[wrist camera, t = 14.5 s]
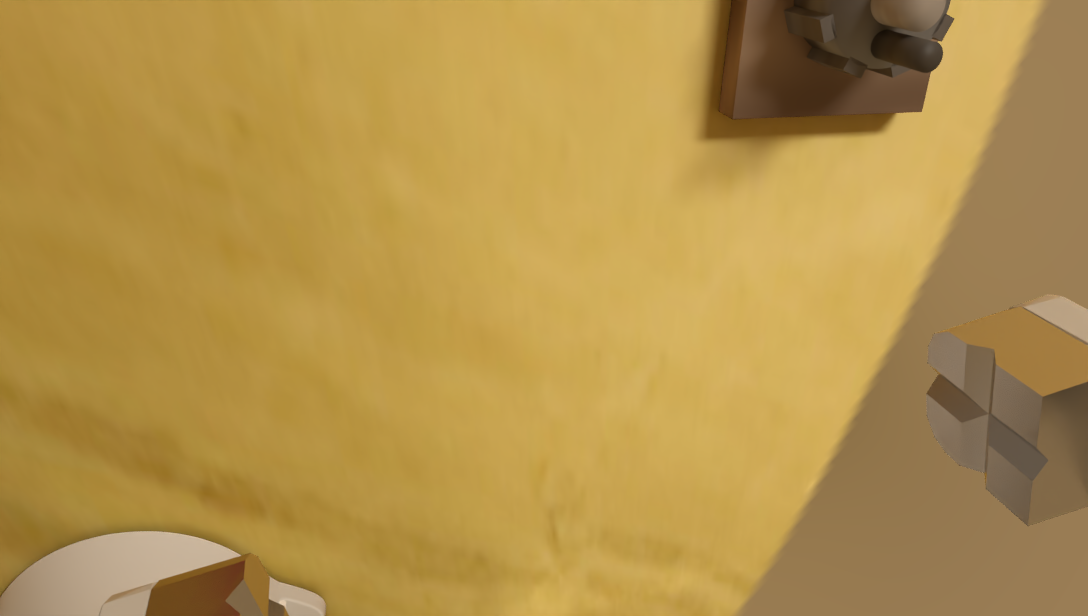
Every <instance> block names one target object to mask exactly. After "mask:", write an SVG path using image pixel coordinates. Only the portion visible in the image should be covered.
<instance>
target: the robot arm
mask: <svg viewBox="0 0 1088 616" xmlns="http://www.w3.org/2000/svg"><path fill="white" fill-rule="evenodd" d="M928 364H929V365H930V366H931V367H932V368H933V369H934V370H935V371H936V372H937V373H938V376H937V377H936V379H935V381H934V382H933V384H932V386H931V387H930V389H929V390H928V392H927V418H928V420H929V423H930V426H931V428H932V431H933V434H934V437H935V438H936V440H937V441H938V443H939V444H940V445H941V447H942V448H943V450H944V451H945V452H946V453H947V454H948V455H949V456H950V457H951V458H952V459H953V460H954V461H955V462H956V463H957V464H959V465H960V466H963V467H967V468H970V469H973V470H976V471H980V472H983V473H984V475H985V485H986V489H987V490H988V491H989V492H990V493H991V494H992V495H993V496H994V497H995V498H997V499H998V500H999V501H1000V502H1001V503H1003V505H1005V506H1006V507H1007V508H1008V509H1009V510H1010V511H1011V512H1012V513H1014V514H1015V515H1016V516H1017V517H1018V518H1019V519H1020V520H1021V521H1023V522H1024V523H1025V524H1026V525H1027V526H1030V525H1033V524H1036V523H1039V522H1042V521H1045V520H1048V519H1051V518H1054V517H1057V516H1060V515H1063V514H1066V513H1069V512H1073V511H1076V510H1078V509H1082V508H1085V507H1088V310H1087V309H1085V308H1083V307H1081V306H1080V305H1078V304H1076V303H1074V302H1072V301H1070V300H1069V299H1067V298H1065V297H1063V296H1057V295H1050V294H1047V295H1044V296H1041V297H1038V298H1035V299H1032V300H1030V301H1027V302H1024V303H1021V304H1018V305H1016V306H1012V307H1010V308H1009V309H1008V310H1004V311H1001V312H998V313H995V314H992V315H989V316H986V317H983V318H980V319H977V320H974V321H970V322H967V323H965V324H962V325H958V326H956V327H952V328H949V329H946V330H943V331H940V332H937V333H934V335H933V337H932V339H931V341H930V343H929V345H928ZM325 614H326V604H325V602H324V600H323V599H322V598H321V597H320V596H319V595H317V594H315V593H313V592H311V591H308V590H305V589H302V588H299V587H295V586H292V585H288V584H285V583H281V582H278V581H276V580H275V579H273V578H271V577H270V576H269V575H268V573H267V572H266V570H265V568H264V566H263V564H262V563H261V561H260V559H259V557H258V556H256V555H254V554H251V553H249V554H245V555H242V556H241V555H239V554H238V553H236V552H234V551H232V550H230V549H228V548H226V547H224V546H221V545H219V544H216V543H214V542H211V541H208V540H205V539H201V538H197V537H193V536H188V535H183V534H177V533H169V532H155V531H137V532H123V533H115V534H109V535H103V536H99V537H94V538H90V539H87V540H83V541H80V542H77V543H74V544H71V545H69V546H66V547H64V548H61V549H59V550H57V551H55V552H53V553H51V554H49V555H47V556H45V557H44V558H42V559H40V560H39V561H37V562H36V563H34V564H33V565H31V566H30V567H29V568H27V569H26V570H25V571H23V572H22V573H21V574H20V575H19V576H18V577H17V578H16V579H15V580H14V581H13V582H12V583H11V584H10V585H9V586H8V588H7V589H6V590H5V591H4V593H3V594H2V596H1V597H0V616H325Z"/></svg>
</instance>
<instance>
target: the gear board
mask: <svg viewBox="0 0 1088 616" xmlns="http://www.w3.org/2000/svg"><path fill="white" fill-rule="evenodd" d="M950 1H951V0H732V3H731V12H730V21H729V29H728V38H727V46H726V55H725V63H724V72H723V80H722V89H721V98H720V106H719V112H721V113H723V114H724V115H726V116H728V117H730V118H732V119H748V118H774V117H800V116H826V115H852V114H878V113H904V112H922V109H923V104H924V100H925V95H926V91H927V86H928V82H929V77H930V73H931V71H933V70H934V69H936V68H937V66H938V65H939V64H940V62H941V60H942V56H943V50H942V47H941V45H940V44H939V43H938V41H942V40H943V38H944V36H945V35H946V33H947V31H948V29H949V27H950V26H951V24H952V22H953V20H954V18H952V17H950V16H949V15H947V14H946V13H947V11H948V8H949V4H950Z"/></svg>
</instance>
